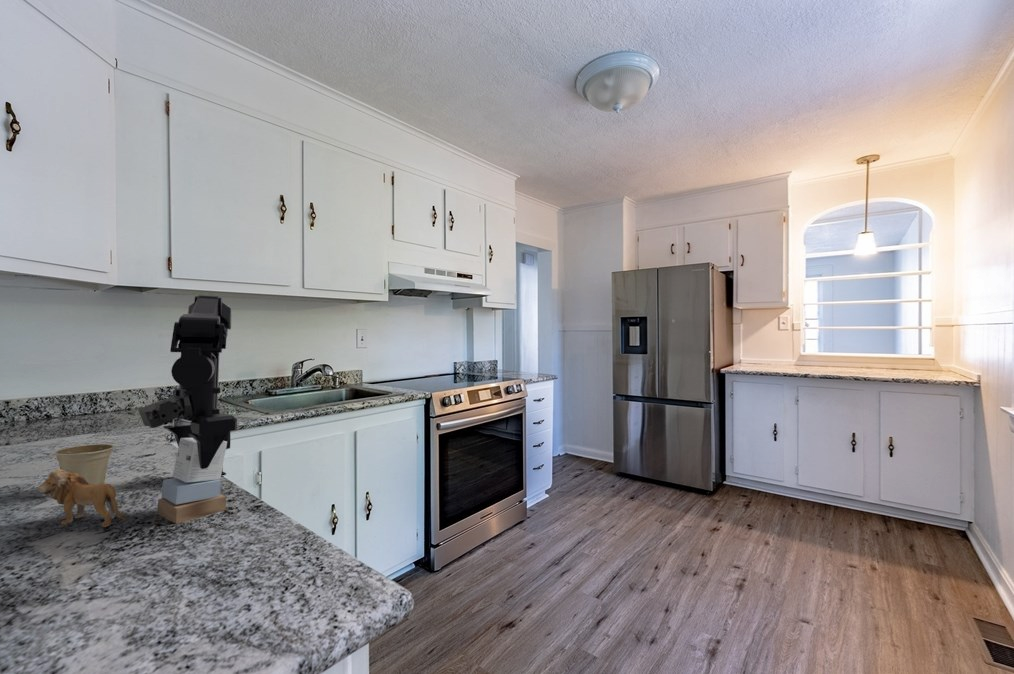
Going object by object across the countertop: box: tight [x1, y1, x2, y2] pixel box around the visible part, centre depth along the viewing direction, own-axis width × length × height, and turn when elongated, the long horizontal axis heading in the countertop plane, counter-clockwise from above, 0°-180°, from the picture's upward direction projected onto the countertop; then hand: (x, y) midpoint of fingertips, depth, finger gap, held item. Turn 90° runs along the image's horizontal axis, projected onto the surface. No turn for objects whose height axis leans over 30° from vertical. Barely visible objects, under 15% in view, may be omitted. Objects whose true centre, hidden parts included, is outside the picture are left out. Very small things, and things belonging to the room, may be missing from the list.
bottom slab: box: [157, 493, 227, 525], centre depth 82 cm, size 8×8×3 cm
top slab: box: [161, 477, 222, 505], centre depth 83 cm, size 7×7×3 cm
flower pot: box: [53, 443, 116, 485], centre depth 94 cm, size 9×9×9 cm
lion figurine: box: [37, 469, 131, 528], centre depth 77 cm, size 15×5×9 cm, turn 91°
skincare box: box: [172, 438, 227, 483], centre depth 84 cm, size 6×6×7 cm
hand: (195, 465), depth 83 cm, fingers open, 7 cm apart
